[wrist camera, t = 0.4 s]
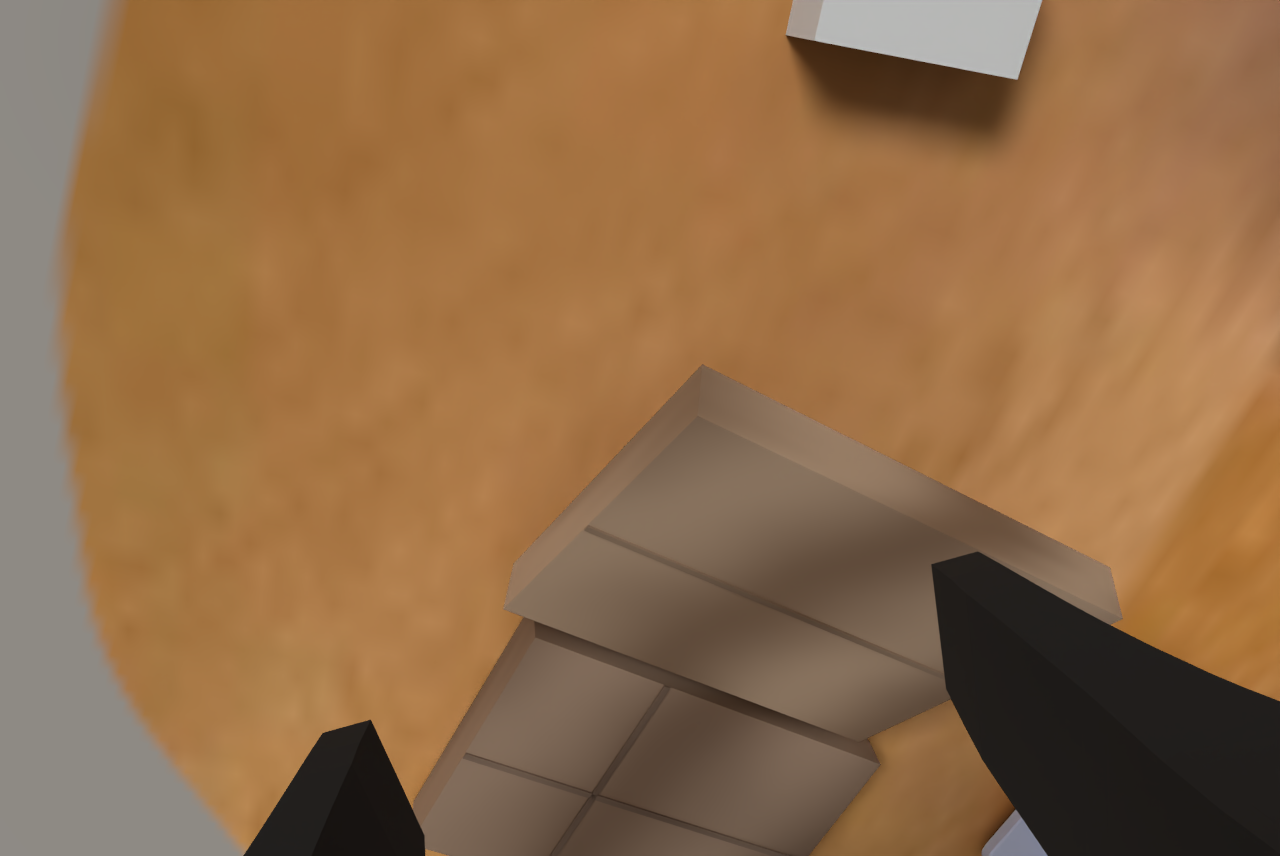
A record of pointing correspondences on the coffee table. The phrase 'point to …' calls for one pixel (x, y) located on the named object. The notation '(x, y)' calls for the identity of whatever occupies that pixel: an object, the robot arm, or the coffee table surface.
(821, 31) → the light grey block
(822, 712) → the board
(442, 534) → the coffee table surface
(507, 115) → the coffee table surface
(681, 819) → the laid board
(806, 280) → the coffee table surface
